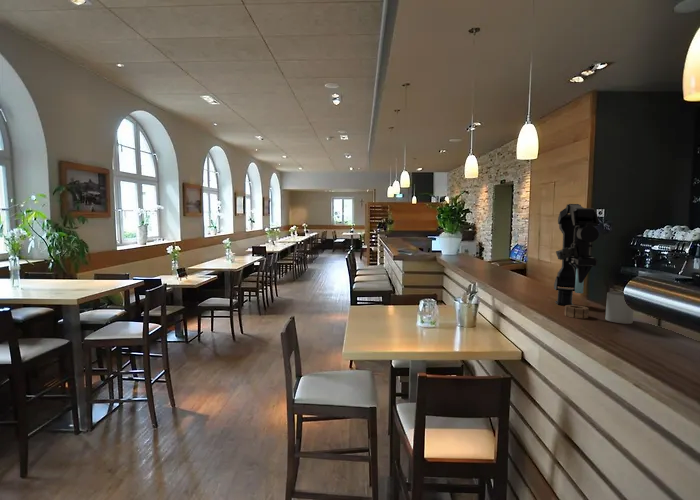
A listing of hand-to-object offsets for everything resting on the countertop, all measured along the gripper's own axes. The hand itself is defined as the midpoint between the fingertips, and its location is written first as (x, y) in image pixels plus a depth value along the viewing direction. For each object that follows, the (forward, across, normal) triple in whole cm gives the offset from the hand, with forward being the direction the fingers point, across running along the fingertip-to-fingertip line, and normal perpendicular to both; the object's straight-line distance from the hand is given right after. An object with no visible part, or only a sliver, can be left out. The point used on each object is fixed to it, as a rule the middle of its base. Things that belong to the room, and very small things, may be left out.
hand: (579, 282), depth 155 cm
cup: (+13, +2, +13) cm, 19 cm away
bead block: (+13, 0, 0) cm, 13 cm away
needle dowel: (+4, 0, 0) cm, 4 cm away
